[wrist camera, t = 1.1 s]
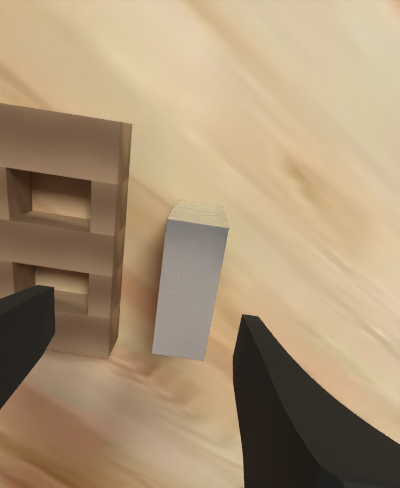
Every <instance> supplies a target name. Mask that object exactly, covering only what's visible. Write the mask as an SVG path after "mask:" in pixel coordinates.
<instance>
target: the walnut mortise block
mask: <svg viewBox="0 0 400 488" xmlns="http://www.w3.org/2000/svg"><path fill="white" fill-rule="evenodd" d="M131 132H132V124H128V123H122V122H116V121H110V120H104V119H97V118H91V117H84V116H78V115H72V114H65V113H59V112H53V111H46V110H40V109H34V108H27V107H21V106H15V105H8V104H2V103H0V299H1V298H4V297H6V296H9V295H11V294H14V293H16V292H19V291H22V290H24V289H27V288H30V287H33V286H35V266H34V265H36V266H43V267H50V268H56V269H63V270H70V271H76V272H83V273H89V295H83V294H76V293H69V292H63V291H56V290H54V302H55V334H54V336H53V338H52V340H51V341H50V343H49V345H48V347H47V348H46V350H52V351H59V352H66V353H72V354H79V355H86V356H93V357H100V358H106V359H108V357H109V355H110V353H111V351H112V348H113V346H114V344H115V342H116V340H117V338H118V328H119V313H120V298H121V283H122V268H123V253H124V238H125V223H126V207H127V192H128V177H129V162H130V147H131ZM31 171H33V172H39V173H45V174H52V175H58V176H65V177H71V178H78V179H84V180H91V219H90V220H88V219H82V218H75V217H69V216H62V215H55V214H49V213H42V212H36V211H32V195H31Z"/></svg>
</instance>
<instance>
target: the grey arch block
mask: <svg viewBox="0 0 400 488" xmlns="http://www.w3.org/2000/svg"><path fill="white" fill-rule="evenodd" d="M228 230H229V226H228V221H227V216H226V213H224V207H223V206H217V205H211V204H204V203H198V202H191V201H185V200H179V201H178V203H177V205H176V206H174V207H173V209H172V211H171V213H170V215H169V216H168V218H167V225H166V233H165V242H164V251H163V260H162V268H161V277H160V286H159V295H158V303H157V312H156V321H155V330H154V338H153V347H152V354H158V355H165V356H172V357H179V358H186V359H192V360H199V361H204V358H205V352H206V347H207V342H208V336H209V331H210V326H211V320H212V315H213V310H214V304H215V299H216V294H217V288H218V283H219V278H220V273H221V267H222V262H223V257H224V251H225V246H226V241H227V235H228Z"/></svg>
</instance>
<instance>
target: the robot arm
mask: <svg viewBox="0 0 400 488" xmlns="http://www.w3.org/2000/svg"><path fill="white" fill-rule="evenodd" d="M54 334H55V302H54V287H48V286H41V285H37V286H33V287H30V288H27V289H24V290H22V291H19V292H16V293H14V294H11V295H9V296H6V297H4V298H1V299H0V409H1V408H2V407H3V405H4V404H5V403H6V402H7V400H8V399H9V398H10V396H11V395H12V394H13V393H14V391H15V390H16V389H17V387H18V386H19V385H20V384H21V382H22V381H23V380H24V379H25V377H26V376H27V375H28V373H29V372H30V371H31V370H32V368H33V367H34V366H35V364H36V363H37V362H38V360H39V359H40V358H41V356H42V355H43V353H44V352H45V350H46V348H47V347H48V345H49V343H50V341H51V340H52V338H53V336H54ZM233 385H234V392H235V400H236V407H237V414H238V421H239V428H240V435H241V442H242V451H243V465H244V485H245V488H400V444H398V443H397V442H395V441H394V440H392V439H391V438H389V437H388V436H386V435H385V434H383V433H382V432H380V431H379V430H377V429H376V428H374V427H373V426H371V425H370V424H368V423H367V422H365V421H364V420H363V419H361V418H360V417H358V416H357V415H356V414H354V413H353V412H352V411H351V410H349V409H348V408H347V407H345V406H344V405H343V404H341V403H340V402H339V401H338V400H336V399H335V398H334V397H333V396H332V395H330V394H329V393H328V392H327V391H326V390H325V389H323V388H322V387H321V386H320V385H319V384H318V383H317V382H316V381H315V380H313V379H312V378H311V377H310V376H309V375H308V374H307V373H306V372H305V371H304V370H303V369H302V368H301V367H300V366H299V365H298V363H297V362H296V361H295V360H294V359H293V358H292V357H291V356H290V355H289V354H288V353H287V351H286V350H285V349H284V348H283V347H282V346H281V344H280V343H279V342H278V341H277V340H276V338H275V337H274V336H273V335H272V333H271V332H270V331H269V330H268V328H267V327H266V326H265V324H264V323H263V322H262V321H261V319H260V318H259V317H258V316H251V315H244V314H242V318H241V322H240V327H239V331H238V336H237V341H236V345H235V350H234V355H233Z"/></svg>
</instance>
